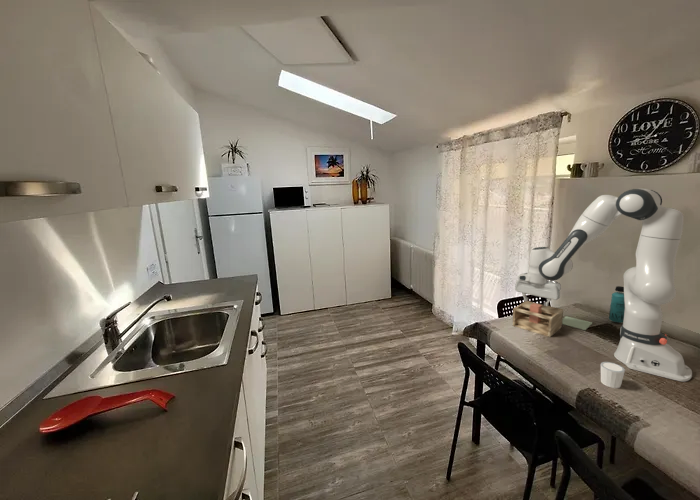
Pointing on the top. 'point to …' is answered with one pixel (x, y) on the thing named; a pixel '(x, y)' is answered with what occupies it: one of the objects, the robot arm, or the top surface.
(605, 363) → the white cup
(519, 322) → the wooden crate
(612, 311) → the beverage bottle
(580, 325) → the zone pad
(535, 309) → the block
